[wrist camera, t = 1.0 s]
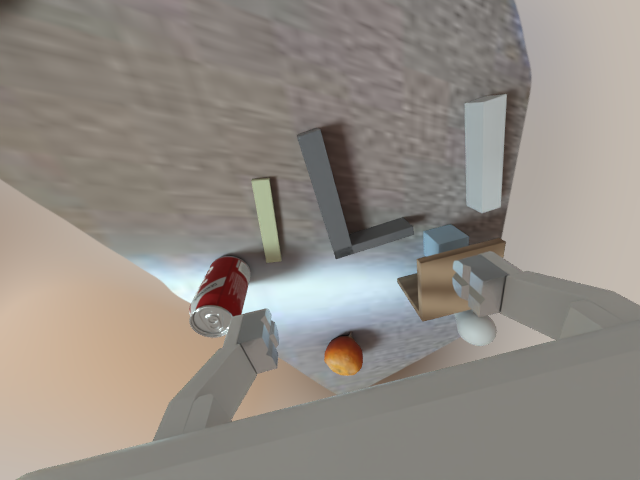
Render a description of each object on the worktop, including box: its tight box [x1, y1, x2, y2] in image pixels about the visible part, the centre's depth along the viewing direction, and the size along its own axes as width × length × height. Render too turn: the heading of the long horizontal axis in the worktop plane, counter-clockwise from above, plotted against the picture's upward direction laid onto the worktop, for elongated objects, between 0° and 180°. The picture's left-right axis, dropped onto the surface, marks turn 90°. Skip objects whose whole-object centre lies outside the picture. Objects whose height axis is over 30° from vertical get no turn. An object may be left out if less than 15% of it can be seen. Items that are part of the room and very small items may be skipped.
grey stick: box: [465, 94, 507, 213], centre depth 36 cm, size 16×3×4 cm, turn 17°
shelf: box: [397, 238, 506, 321], centre depth 40 cm, size 12×12×10 cm
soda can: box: [189, 256, 251, 337], centre depth 37 cm, size 7×7×12 cm
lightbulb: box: [454, 309, 496, 346], centre depth 47 cm, size 6×6×11 cm
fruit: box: [324, 332, 363, 376], centre depth 51 cm, size 8×8×8 cm
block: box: [424, 224, 469, 256], centre depth 42 cm, size 5×5×5 cm
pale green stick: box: [252, 178, 281, 263], centre depth 39 cm, size 14×2×2 cm, turn 3°
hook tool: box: [297, 128, 414, 259], centre depth 36 cm, size 19×13×4 cm
